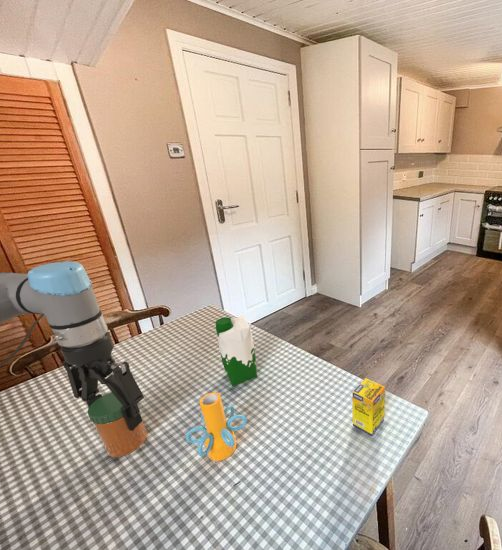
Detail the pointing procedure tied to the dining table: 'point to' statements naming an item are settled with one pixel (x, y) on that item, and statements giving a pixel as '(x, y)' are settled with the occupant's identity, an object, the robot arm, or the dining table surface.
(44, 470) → the dining table surface
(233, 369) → the milk carton
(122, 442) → the jar
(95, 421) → the jar lid
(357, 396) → the supplement box
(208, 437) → the orange vase
